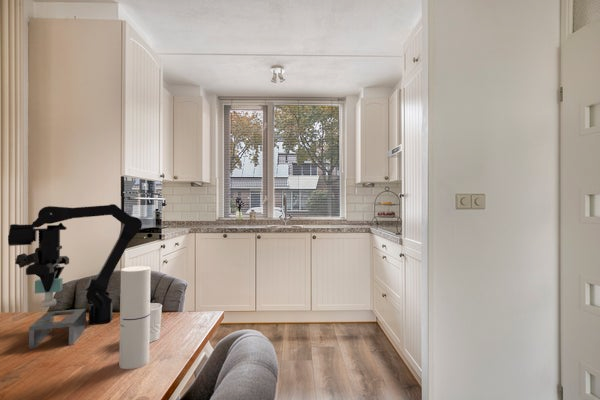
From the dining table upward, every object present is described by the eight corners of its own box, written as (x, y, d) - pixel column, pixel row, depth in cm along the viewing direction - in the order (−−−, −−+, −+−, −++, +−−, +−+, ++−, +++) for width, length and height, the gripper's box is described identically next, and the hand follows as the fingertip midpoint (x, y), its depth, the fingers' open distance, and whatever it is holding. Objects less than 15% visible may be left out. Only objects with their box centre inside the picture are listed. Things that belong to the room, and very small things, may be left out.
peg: (63, 302, 115) (63, 277, 115) (58, 305, 112) (59, 280, 112) (38, 304, 113) (39, 279, 113) (33, 307, 109) (33, 281, 109)
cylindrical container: (137, 370, 86) (138, 272, 86) (112, 367, 87) (114, 270, 87) (154, 358, 93) (156, 266, 93) (131, 355, 94) (133, 265, 94)
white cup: (128, 340, 104) (128, 308, 104) (150, 332, 111) (150, 301, 111) (145, 346, 100) (146, 312, 100) (167, 336, 107) (167, 305, 107)
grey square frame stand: (46, 331, 110) (47, 311, 110) (85, 328, 114) (86, 308, 114) (28, 349, 97) (29, 326, 97) (73, 344, 101) (73, 322, 101)
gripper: (33, 241, 119) (32, 285, 119) (5, 248, 101) (4, 300, 101) (69, 240, 122) (69, 283, 122) (49, 247, 104) (48, 297, 104)
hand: (49, 290), depth 112 cm, fingers closed on peg, 2 cm apart
